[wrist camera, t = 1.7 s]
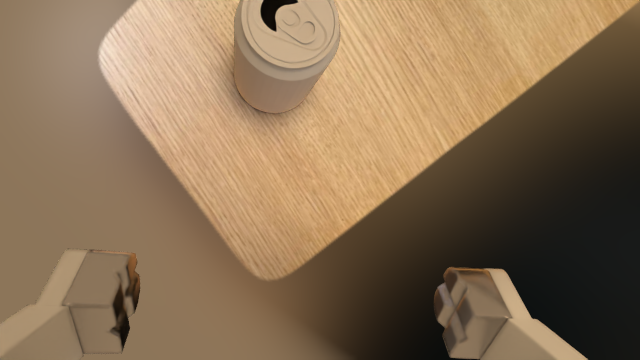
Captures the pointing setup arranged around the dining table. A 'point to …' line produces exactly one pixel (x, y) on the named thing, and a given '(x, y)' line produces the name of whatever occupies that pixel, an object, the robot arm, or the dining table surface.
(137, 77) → the dining table surface
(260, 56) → the beverage can
